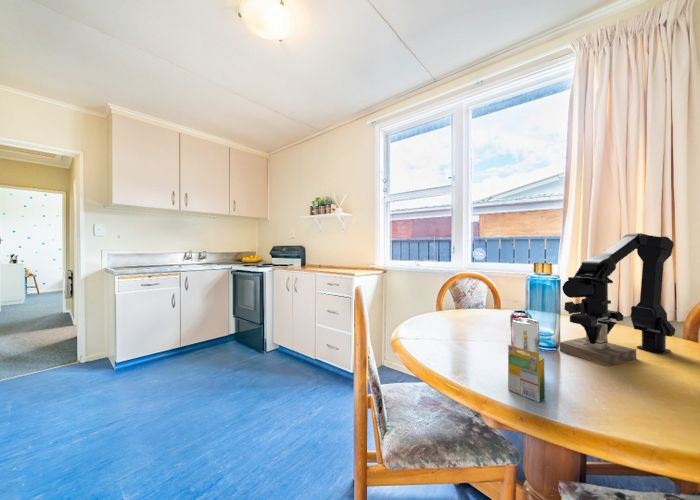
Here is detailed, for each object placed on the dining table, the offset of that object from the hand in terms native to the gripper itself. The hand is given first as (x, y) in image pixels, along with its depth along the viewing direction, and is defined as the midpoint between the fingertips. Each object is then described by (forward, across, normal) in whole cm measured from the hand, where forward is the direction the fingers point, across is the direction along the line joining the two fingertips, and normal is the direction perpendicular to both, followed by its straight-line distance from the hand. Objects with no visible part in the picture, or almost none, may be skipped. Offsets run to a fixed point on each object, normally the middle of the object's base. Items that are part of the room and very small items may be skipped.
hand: (596, 342), depth 94 cm
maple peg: (+3, 0, 0) cm, 3 cm away
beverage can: (+4, +17, -15) cm, 23 cm away
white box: (+4, +34, 0) cm, 34 cm away
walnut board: (+4, 0, 0) cm, 4 cm away
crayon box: (+4, +46, +9) cm, 47 cm away
